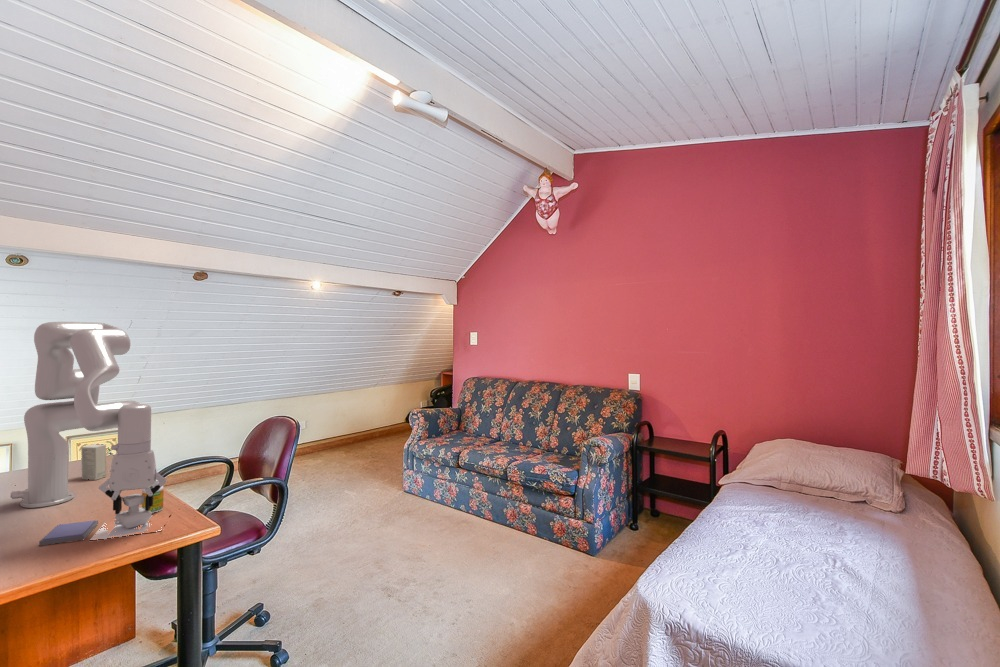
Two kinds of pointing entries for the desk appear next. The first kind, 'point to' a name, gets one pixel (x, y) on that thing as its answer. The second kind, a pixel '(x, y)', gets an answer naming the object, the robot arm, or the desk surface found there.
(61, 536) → the ink pad
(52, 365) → the robot arm
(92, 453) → the skincare box
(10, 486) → the desk surface
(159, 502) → the supplement bottle
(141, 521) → the stamp
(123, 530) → the paper
